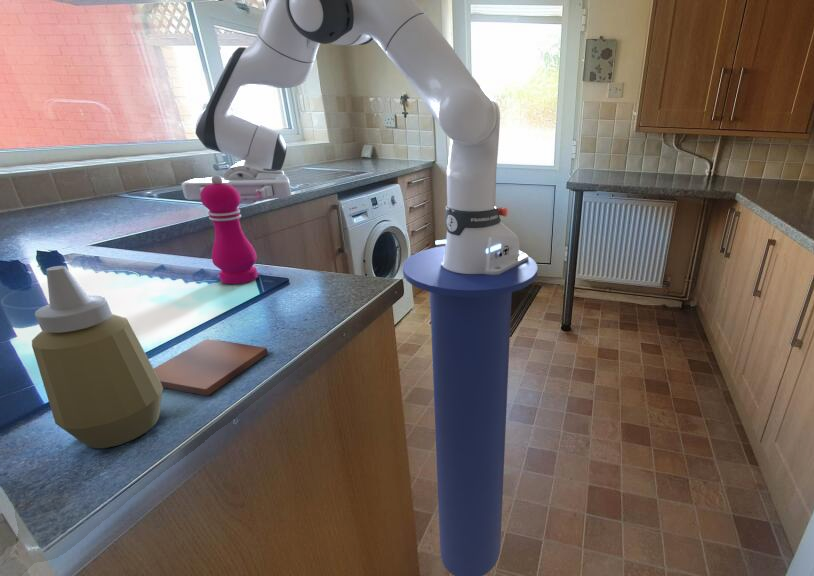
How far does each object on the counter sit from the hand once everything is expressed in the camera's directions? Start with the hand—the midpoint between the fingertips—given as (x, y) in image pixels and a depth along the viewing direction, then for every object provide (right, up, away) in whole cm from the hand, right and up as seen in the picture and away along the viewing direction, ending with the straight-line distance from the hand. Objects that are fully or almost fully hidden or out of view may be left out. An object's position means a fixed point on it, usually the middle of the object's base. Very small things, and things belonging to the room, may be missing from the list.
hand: (234, 194), depth 85 cm
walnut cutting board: (+18, -30, -32) cm, 47 cm away
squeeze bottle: (+17, -34, -42) cm, 57 cm away
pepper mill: (+4, -18, -4) cm, 19 cm away
